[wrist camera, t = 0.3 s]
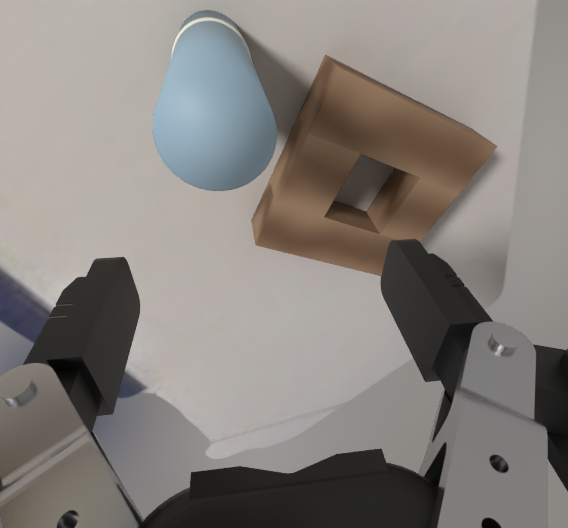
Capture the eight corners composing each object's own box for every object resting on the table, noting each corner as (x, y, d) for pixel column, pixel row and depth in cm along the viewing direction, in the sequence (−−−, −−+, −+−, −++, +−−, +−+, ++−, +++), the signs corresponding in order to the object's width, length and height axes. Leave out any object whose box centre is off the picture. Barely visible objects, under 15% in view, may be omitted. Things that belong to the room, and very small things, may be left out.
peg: (185, -6, 24) (165, 41, 12) (256, 28, 25) (299, 99, 14) (168, 71, 26) (138, 172, 15) (233, 97, 28) (253, 205, 16)
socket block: (325, 54, 27) (339, 68, 24) (471, 128, 33) (497, 146, 30) (251, 220, 36) (255, 245, 33) (377, 255, 42) (390, 278, 39)
